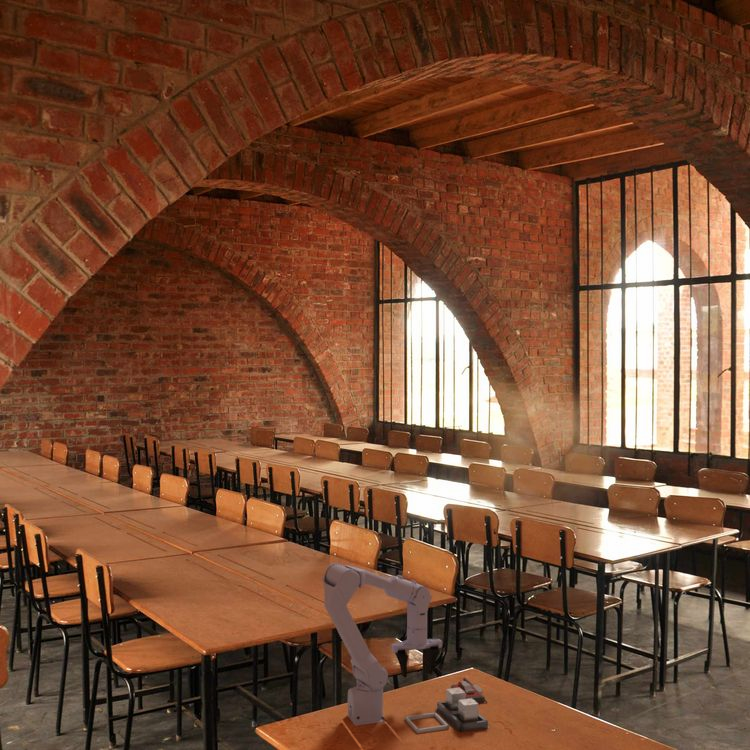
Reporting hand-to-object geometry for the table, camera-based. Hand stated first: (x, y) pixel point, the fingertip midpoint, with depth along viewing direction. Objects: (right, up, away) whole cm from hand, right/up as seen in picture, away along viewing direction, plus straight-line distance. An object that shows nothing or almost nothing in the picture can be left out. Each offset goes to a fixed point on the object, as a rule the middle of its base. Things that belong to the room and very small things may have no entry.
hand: (416, 674), depth 235 cm
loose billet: (+13, -8, -14) cm, 21 cm away
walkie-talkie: (+15, -10, +9) cm, 21 cm away
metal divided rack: (+12, -10, -10) cm, 18 cm away
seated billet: (+10, -8, -6) cm, 15 cm away
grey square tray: (+2, -9, -14) cm, 17 cm away
